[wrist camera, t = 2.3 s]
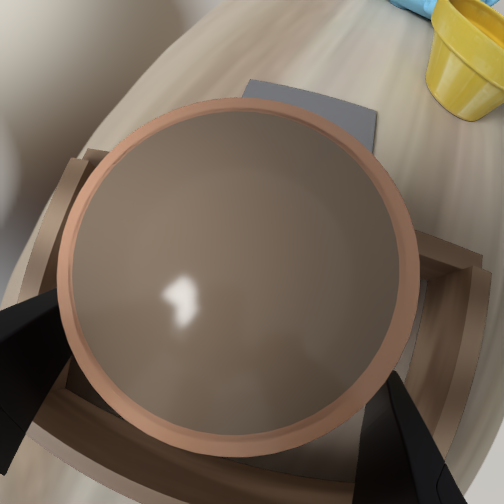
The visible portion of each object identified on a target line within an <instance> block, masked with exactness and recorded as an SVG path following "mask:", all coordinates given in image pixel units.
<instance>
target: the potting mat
mask: <svg viewBox="0 0 504 504" xmlns="http://www.w3.org/2000/svg"><path fill="white" fill-rule="evenodd" d="M242 98H260V99H267V100H273V101H279V102H283V103H287V104H290V105H294V106H297V107H300V108H303V109H305V110H308V111H310V112H313V113H315V114H318V115H320V116H322V117H324V118H325V119H327V120H329V121H331V122H333V123H334V124H336V125H338V126H339V127H341V128H342V129H344V130H345V131H346V132H348V133H349V134H350V135H352V136H353V137H354V138H356V139H357V140H358V141H359V142H360V143H361V144H362V145H363V146H364V147H366V148H367V149H368V150H369V151H370V152H371V153H372V148H373V140H374V131H375V121H376V111H374V110H371V109H368V108H365V107H362V106H359V105H356V104H353V103H349V102H346V101H343V100H339V99H336V98H332V97H329V96H325V95H321V94H317V93H313V92H309V91H305V90H301V89H297V88H292V87H288V86H283V85H278V84H273V83H268V82H263V81H257V80H251V79H250V80H249V83H248V85H247V87H246V89H245V91H244V93H243V96H242Z"/></svg>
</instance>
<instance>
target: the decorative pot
mask: <svg viewBox="0 0 504 504" xmlns="http://www.w3.org/2000/svg"><path fill="white" fill-rule="evenodd" d="M480 1H482V2H484V3H485V4H487V5H488V6H490V7H491V6H492V5H494V4H495V3H497V2H498V1H499V0H480ZM389 2H390V3H391V4H393V5H394V6H396V7H399V8H402V9H409V10H411V11H413V12H416V13H418V14H420V15H422V16H424V17H426V18H428V19H431V16H432V13H433V10H434V7H435V5H436V2H437V0H389Z"/></svg>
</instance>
